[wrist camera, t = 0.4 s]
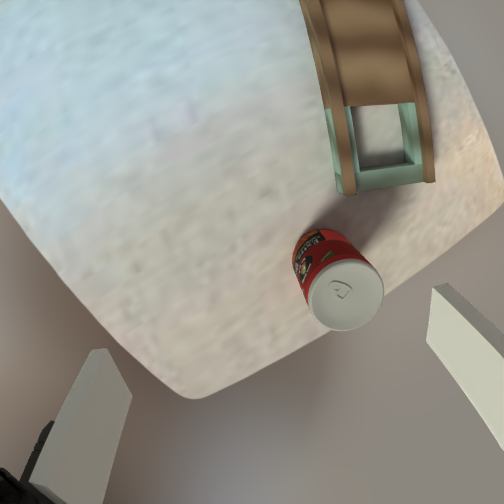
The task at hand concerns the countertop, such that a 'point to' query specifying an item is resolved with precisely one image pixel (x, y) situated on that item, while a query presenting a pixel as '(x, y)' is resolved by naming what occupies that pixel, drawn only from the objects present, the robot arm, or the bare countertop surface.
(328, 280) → the canned food
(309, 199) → the countertop surface
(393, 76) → the rail board
